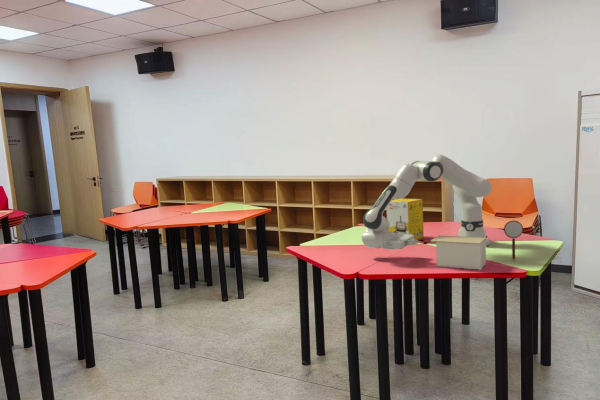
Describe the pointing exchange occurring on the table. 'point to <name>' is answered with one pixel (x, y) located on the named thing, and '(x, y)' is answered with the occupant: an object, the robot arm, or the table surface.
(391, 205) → the packaging box
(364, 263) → the table surface
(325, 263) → the table surface
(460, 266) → the carton
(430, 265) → the table surface
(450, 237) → the lid flap
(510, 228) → the magnifying glass
